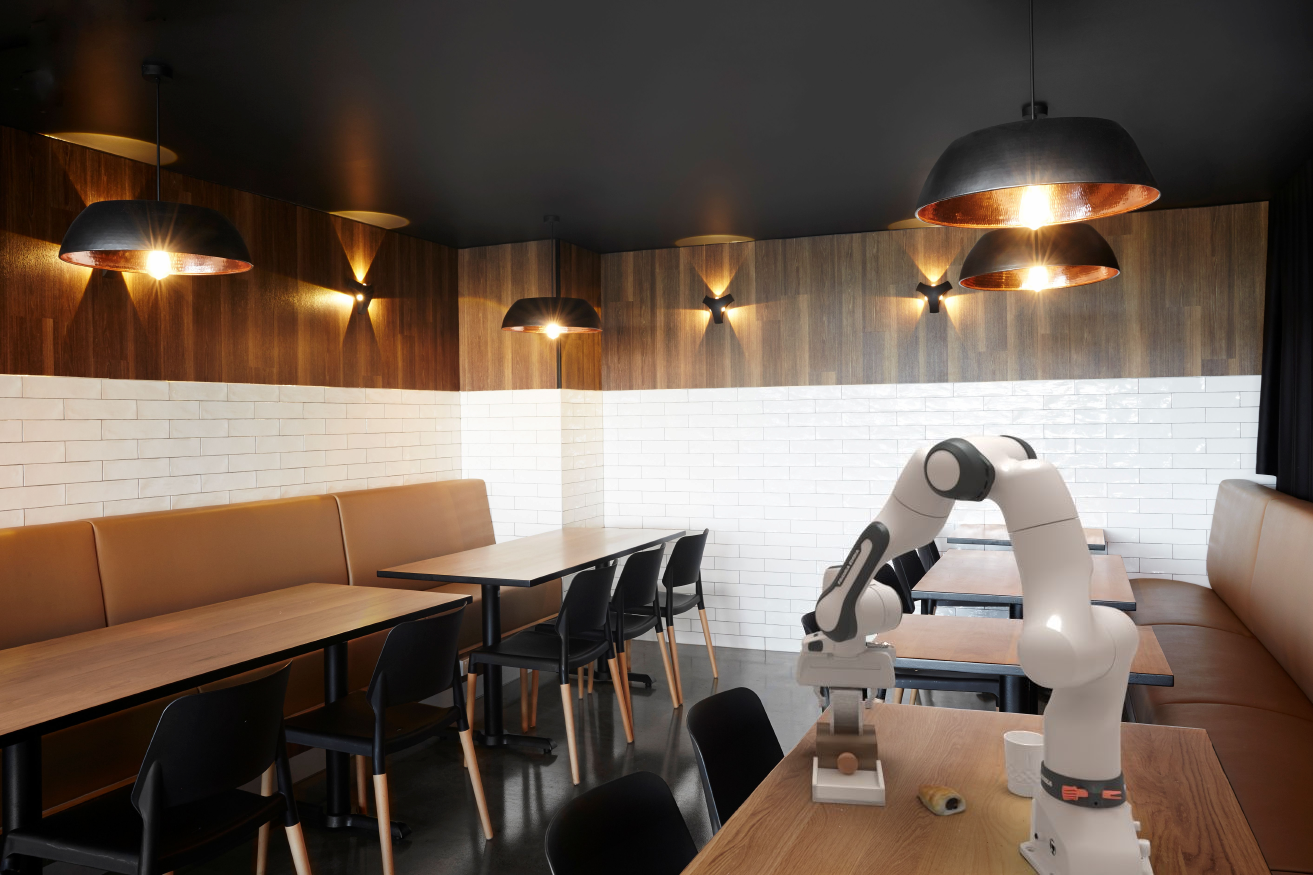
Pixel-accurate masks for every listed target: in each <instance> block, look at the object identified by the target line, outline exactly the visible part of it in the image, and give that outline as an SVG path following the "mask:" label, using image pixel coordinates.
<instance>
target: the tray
mask: <svg viewBox="0 0 1313 875" xmlns="http://www.w3.org/2000/svg"><path fill="white" fill-rule="evenodd" d="M812 764H813V766H812V781H811V782H812V785H811V788H812V790H811V791H812V792H811V793H812V795H811V796H812V802H813V803H825V804H826V803H829V804H844V805H862V806H879V807H886V788H885V782H884V781H885V780H884V775H883V769H882V768H883V767H882V762H881V759H879V760H876V768H877V771H863V770H856V771H855V772H854V773H852V774H845V773H843V772H841V771H840V769H825V768H818V757H816V756H813V763H812Z"/></svg>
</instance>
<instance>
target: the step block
mask: <svg viewBox="0 0 1313 875" xmlns="http://www.w3.org/2000/svg"><path fill="white" fill-rule="evenodd" d="M815 736H816V738H815V753H816V756H815V757H818V768H825V769H839V768H838V765H837V760H838V757H839V756H840V755H841V754H842V753H846V752H847V753H851V754H853V755H854V756H855V757H856V759H857V761H858V767H857V769H856V770H863V771H877V768H876V760H878V759H879V752H878V748H879V747H878V746H879V745H878V739H877V738H878V737H877V732H876V725H875V724H868V723H863V735H859V730H858V727H853V726H834V734H830V722H823V721H821V722H819V721H818V722H817V721H816V735H815Z"/></svg>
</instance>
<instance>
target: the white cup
mask: <svg viewBox="0 0 1313 875" xmlns="http://www.w3.org/2000/svg"><path fill="white" fill-rule="evenodd" d="M1003 745H1004V761H1005V772H1006V775H1007V776H1006V779H1007V780H1006V782H1007V789H1008V791H1009V792H1010V793H1012V794H1013V795H1017V796H1019V797H1023V798H1029V797H1030V798H1031V797H1032V799H1033V798H1034V797H1035V796H1037V795H1038V793H1039V792H1040V791H1041V789H1042V785H1041V776H1040V769H1041V762H1042V761H1043V760H1044V749H1043V734H1042V733H1037V732H1034V731H1028V730H1027V731H1026V730H1013V731H1007V732H1006V733H1004V734H1003Z"/></svg>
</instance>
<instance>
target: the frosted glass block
mask: <svg viewBox="0 0 1313 875" xmlns="http://www.w3.org/2000/svg"><path fill="white" fill-rule="evenodd" d="M828 689H829V692H828V694H829V698H828V700H829V723H830V734H834V726H853V727H858V730H859V735H863V724H864V716H863V713H864V712H863V709H864V708H863V704H864V703H863V688H853V687H828Z"/></svg>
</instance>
